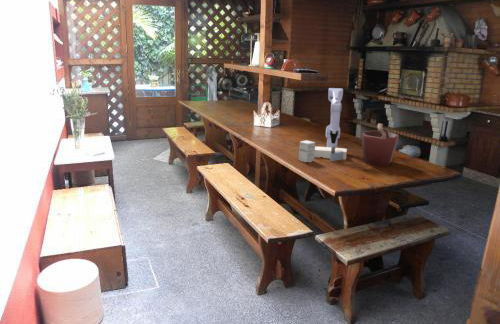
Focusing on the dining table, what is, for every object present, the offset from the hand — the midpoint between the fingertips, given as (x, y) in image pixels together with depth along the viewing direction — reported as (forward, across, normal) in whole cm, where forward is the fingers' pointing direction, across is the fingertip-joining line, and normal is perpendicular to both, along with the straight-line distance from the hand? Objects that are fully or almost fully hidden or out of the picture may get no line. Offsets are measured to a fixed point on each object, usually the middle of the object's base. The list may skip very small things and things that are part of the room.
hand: (333, 142), depth 271 cm
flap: (+10, +8, +3) cm, 13 cm away
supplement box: (+11, +14, -16) cm, 24 cm away
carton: (+10, -2, -3) cm, 11 cm away
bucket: (+11, +4, +28) cm, 30 cm away
